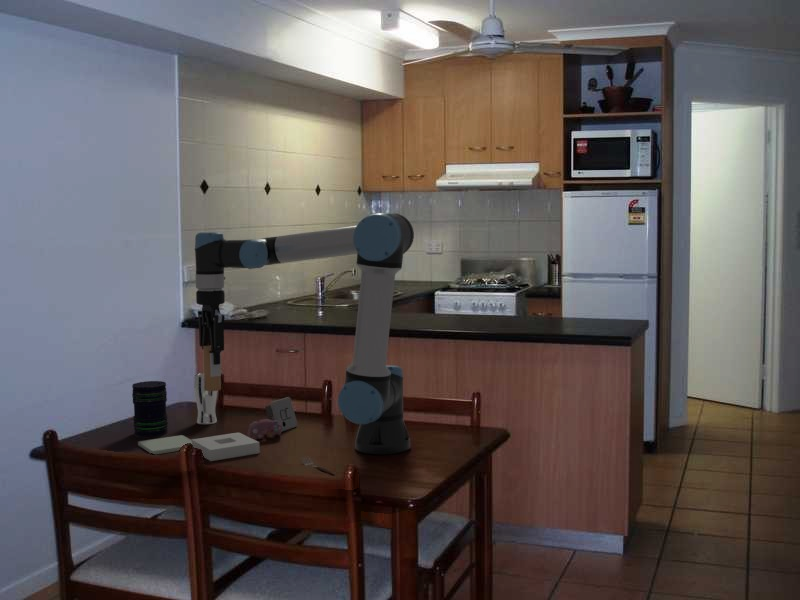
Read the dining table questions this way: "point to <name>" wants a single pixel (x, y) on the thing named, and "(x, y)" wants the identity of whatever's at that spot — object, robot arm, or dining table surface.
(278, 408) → the electrical switch
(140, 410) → the storage jar
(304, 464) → the fork
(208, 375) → the plug
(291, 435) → the dining table surface
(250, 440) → the white square flat box
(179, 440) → the mat
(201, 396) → the beer glass
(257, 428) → the pink animal figurine
